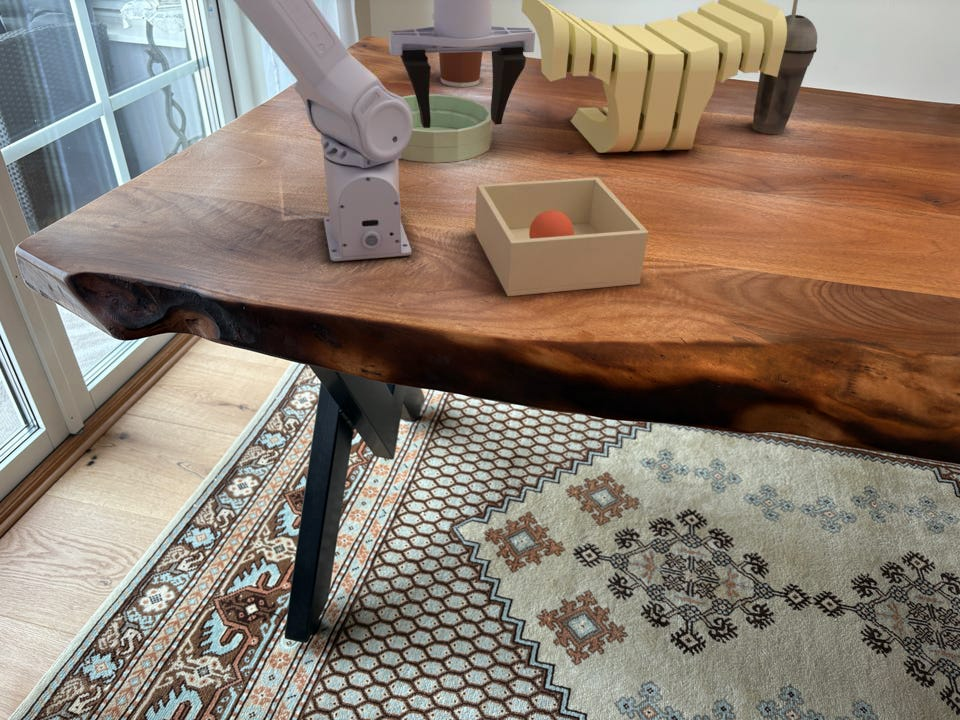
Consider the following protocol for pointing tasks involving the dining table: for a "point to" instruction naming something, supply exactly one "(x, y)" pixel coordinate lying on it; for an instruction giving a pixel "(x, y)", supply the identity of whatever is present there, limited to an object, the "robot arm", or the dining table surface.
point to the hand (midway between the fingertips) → (461, 123)
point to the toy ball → (551, 225)
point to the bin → (565, 259)
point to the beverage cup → (785, 76)
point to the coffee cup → (460, 68)
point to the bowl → (449, 130)
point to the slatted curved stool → (657, 67)
